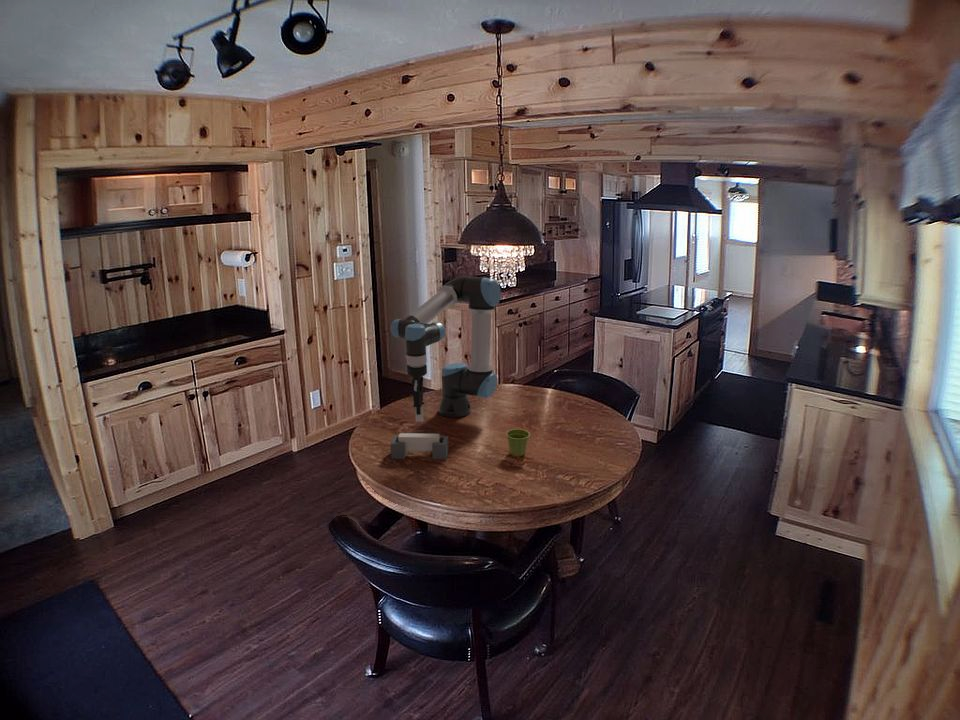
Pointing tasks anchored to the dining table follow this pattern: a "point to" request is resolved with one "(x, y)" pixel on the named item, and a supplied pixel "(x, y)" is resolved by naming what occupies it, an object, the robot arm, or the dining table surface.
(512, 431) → the plant pot
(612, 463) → the dining table surface
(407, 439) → the light grey long block
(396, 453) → the endcap rack
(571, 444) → the dining table surface
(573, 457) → the dining table surface
